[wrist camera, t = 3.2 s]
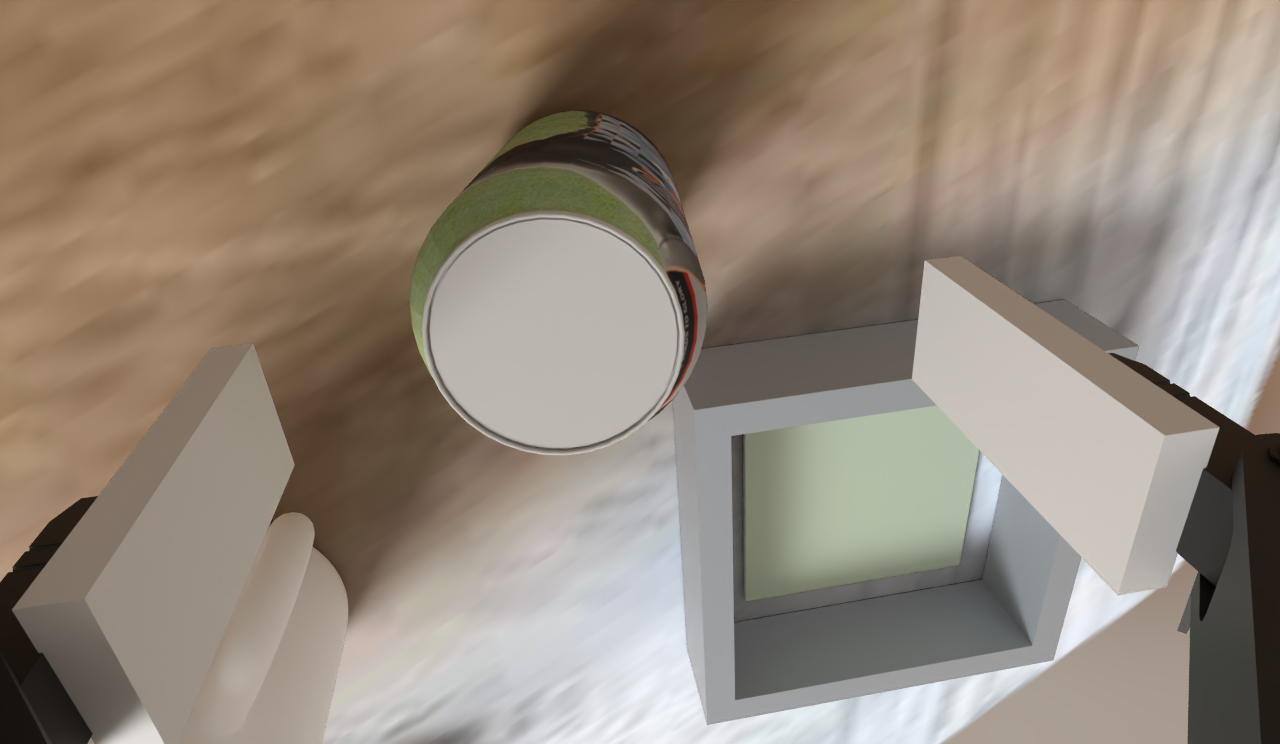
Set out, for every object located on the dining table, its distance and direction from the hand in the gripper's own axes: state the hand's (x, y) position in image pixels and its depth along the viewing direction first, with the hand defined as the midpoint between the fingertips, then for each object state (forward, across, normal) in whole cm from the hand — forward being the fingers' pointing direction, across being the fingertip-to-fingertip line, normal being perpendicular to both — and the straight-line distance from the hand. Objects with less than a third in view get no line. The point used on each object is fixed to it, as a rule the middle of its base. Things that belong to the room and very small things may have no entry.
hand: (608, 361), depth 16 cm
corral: (+11, +11, -14) cm, 21 cm away
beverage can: (+11, 0, 0) cm, 11 cm away
